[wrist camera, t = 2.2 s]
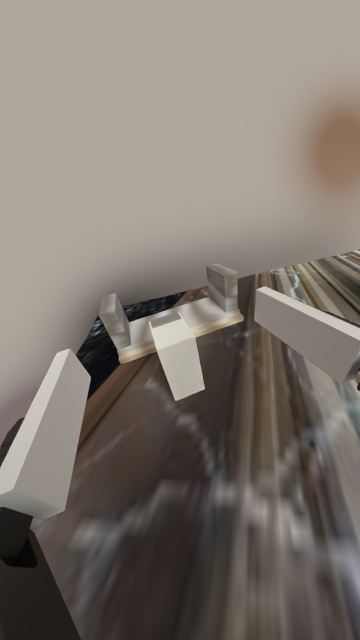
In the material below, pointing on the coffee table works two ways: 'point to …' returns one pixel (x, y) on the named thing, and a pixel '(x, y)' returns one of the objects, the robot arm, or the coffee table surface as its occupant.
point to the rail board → (198, 314)
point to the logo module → (178, 354)
